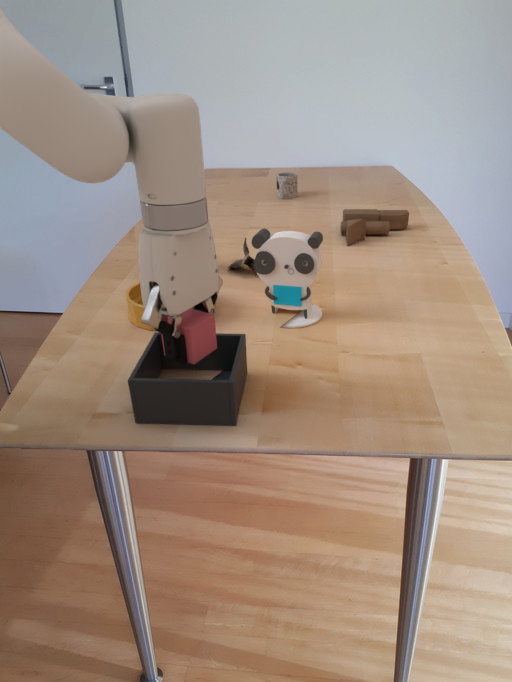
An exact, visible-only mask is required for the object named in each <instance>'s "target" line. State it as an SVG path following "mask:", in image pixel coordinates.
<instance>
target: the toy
mask: <svg viewBox="0 0 512 682" xmlns="http://www.w3.org/2000/svg"><path fill="white" fill-rule="evenodd" d="M168 323H169V324H171V325H172V317H170V316H168ZM216 333H217V329H216V316H215V314H210V313H206V312H202V311H198V310H194V309H188V310H186V311H185V312H183V313H182V324H181V335H184V336H185V344H186V352H187V362H188V363H191V364H196V363H197V362H198V361H200V360H201V359H203V358H204V357H206V356H207V355H208V354H210V353H211V352H213V351H214V350H215V349H217V340H216ZM161 335H162V334H161ZM162 342H163V335H162ZM163 349H164V342H163ZM164 355H165V349H164Z"/></svg>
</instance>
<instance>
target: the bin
mask: <svg viewBox="0 0 512 682" xmlns="http://www.w3.org/2000/svg"><path fill="white" fill-rule="evenodd" d="M216 340H217V349H215V350H214V351H213V352H211V353H210V354H208V355H207V356H206V357H204V358H203V359H201V360H200V361H198V362H197V363H196V364H191V363H188V362H187V363H185V364H180V363H177V362H174V361H171V360H168V359H167V358H166V356H165V355H164V349H163V342H162V335H161V334H160V333H158V331H156V332H155V331H154V333H153V335H152V337H151V338H150V340H149V342H148V344H147V345H146V347H145V349H144V351H143V352H142V355H140V358H139V359H138V362H137V363H136V365H135V367H134V368H133V370H132V372H131V373H130V375H129V377H128V379H127V385H128V391H129V396H130V401H131V407H132V411H133V417H134V423H135V424H153V425H190V426H192V425H193V426H224V427H225V426H227V427H236V426H237V423H238V419H239V414H240V409H241V405H242V401H243V396H244V391H245V387H246V386H245V385H246V382H247V376H248V357H247V355H248V354H247V335H246V333H218V332H216ZM163 370H177V371H178V370H180V371H181V370H182V371H183V370H185V371H220V372H219V373H217V374H216V375H215V376H214V377H213V378H211V379H199V378H195V379H192V378H160V376H161V374H162V372H163Z"/></svg>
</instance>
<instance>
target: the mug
mask: <svg viewBox="0 0 512 682" xmlns="http://www.w3.org/2000/svg"><path fill="white" fill-rule="evenodd" d="M298 176H299V175H298V173H296V172H291V171H290V172H279V173H276V197H277V198H279V199H295V198H297V197H298Z"/></svg>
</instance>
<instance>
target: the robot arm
mask: <svg viewBox="0 0 512 682" xmlns="http://www.w3.org/2000/svg"><path fill="white" fill-rule="evenodd" d="M0 129H1V130H2V131H3V132H5V133H6V134H8V135H9V136H10V137H11V138H12V139H14V140H15V141H17V142H18V143H19V144H20V145H22V146H23V147H25V148H26V149H28V150H29V151H30V152H32V153H33V154H34V155H35V156H37V157H38V158H40V159H41V160H42V161H43V162H45V163H47V164H48V166H51V167H52V168H53V169H55V170H56V171H58V172H59V173H61V174H63V175H64V176H66V177H68V178H70V179H71V180H74V181H77V182H81V183H86V184H99V183H100V184H101V183H103V182H106V181H109V180H111V179H112V178H114V177H115V176H117V175H118V174H119V172H121V170H122V169H123V167H124V166H125V164H126V163H132V164H133V165H134V169H135V177H136V178H135V179H136V185H137V191H138V197H139V203H140V205H139V206H140V211H141V218H142V224H143V225H142V226H143V229H142V230H140V231H139V236H138V254H137V255H138V275H139V282H140V287H141V295H142V302H143V306H144V308H145V309H144V312H143V315H142V318H141V322H142V324H144V325H147V326H149V327H152V328H153V329H155V330H156V332H158V333H160V334H162V335H163V342H164V349H165V356H166V358H167V359H168V360H171V361H174V362H177V363H180V364H185V363H187V352H186V344H185V336H184V335H181V324H182V313H183V312H185V311H186V310H188V309H190V308H193V309H194V310H198V311H202V312H206V313H210V314H214V315H215V314H216V308H215V309H214V305H215V306H216V302H217V299H218V294H220V293H219V292H220V291H221V289H222V286H223V283H224V281H223V279H222V278H221V276H220V275H219V266H218V258H217V257H218V256H217V250H216V245H215V244H216V243H215V239H214V234H213V231H212V225H211V223H210V219H209V213H208V212H209V211H208V199H207V189H206V188H207V187H206V186H207V185H206V175H205V174H206V173H205V162H204V153H203V140H202V138H203V137H202V126H201V116H200V108H199V106H198V102H196V100H195V99H194V98H193V97H192V96H190V95H187V94H183V93H149V94H143V95H137V96H122V95H113V94H103V93H93V92H87V91H86V90H85V89H83V88H82V87H81V86H80V85H78V83H76V82H75V81H74V80H72V79H71V77H69V76H68V75H67V74H65V72H63V71H62V70H61V69H60V68H58V67H57V66H56V65H55V64H54V63H53V62H52V61H50V60H49V59H48V58H47V57H45V55H44V54H43V53H41V52H40V51H39V49H37V48H36V47H35V46H34V45H33V44H32V43H31V42H30V41H29V40H28V39H27V38H25V36H24V35H22V33H21V32H20V31H19V30H18V29H17V28H16V27H15V26H14V25H13V23H12V22H11V21H10V20H9V18H8V17H7V15H5V13H4V11H3V10H2V8H1V7H0ZM158 314H159V315H158ZM168 316H170V317H172V325H171V324H169V323H168Z"/></svg>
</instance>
